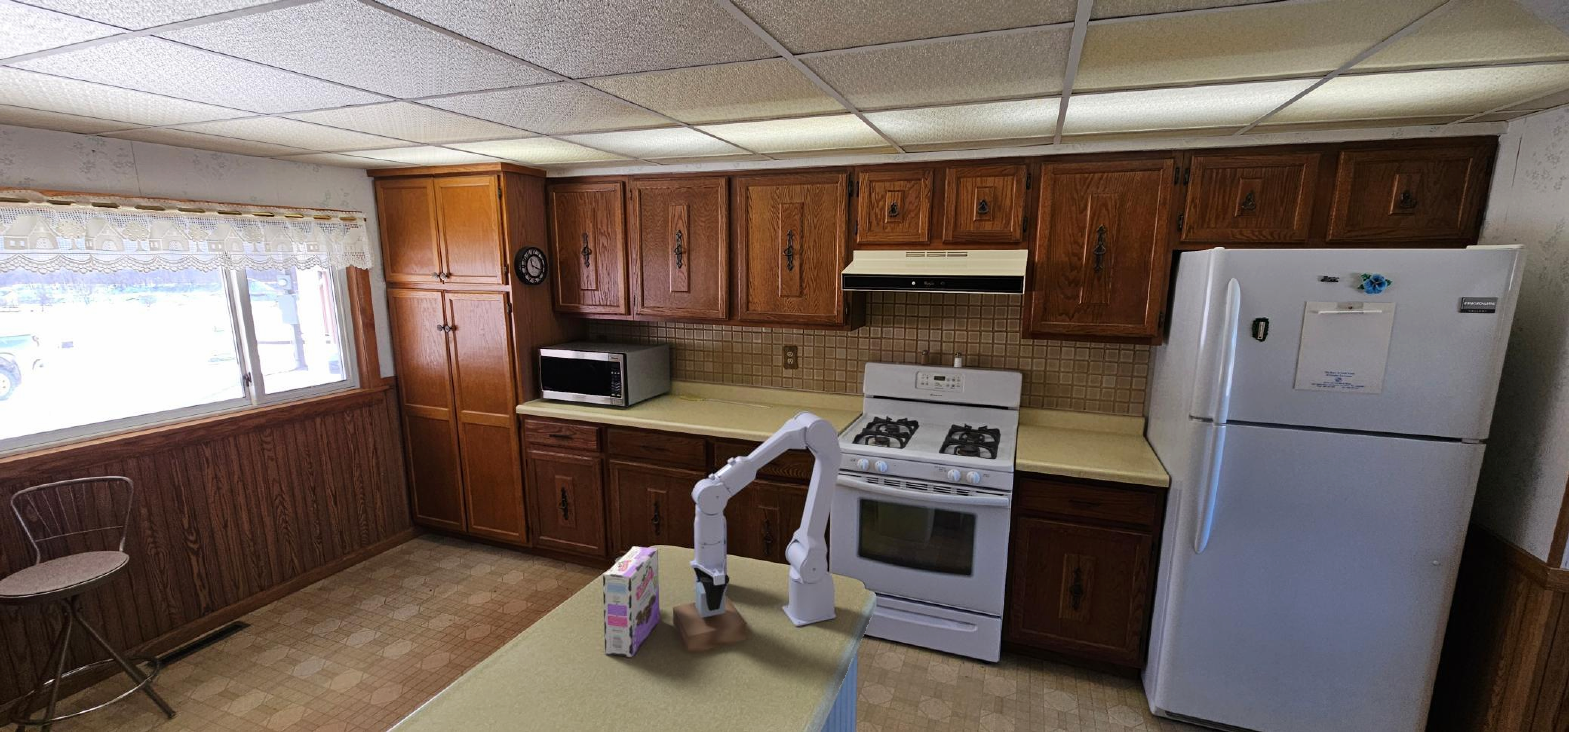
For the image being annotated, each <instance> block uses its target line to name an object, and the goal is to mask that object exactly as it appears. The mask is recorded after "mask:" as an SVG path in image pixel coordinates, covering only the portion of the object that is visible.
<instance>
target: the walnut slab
mask: <svg viewBox="0 0 1569 732" xmlns="http://www.w3.org/2000/svg"><path fill="white" fill-rule="evenodd" d="M672 624H673V625H674V627H675V630H676V631H677V634H678V635H679V638H680V640H681V642H682V643H683V646H684V648H685V650H686V652H687V654H688V655H689V654H693V653H697V652H701V651H706V650H710V649H713V648H718V647H721V646H722V647H723V646H726V645H730V644H734V643H738V642H742V641H746V640H747V622H746V620H745V619H744V618H743V616H742V615H741V613H740V612H739V611H738V609H737V607H735V605H734V604H733V602H732V600H730V597H728V595H725V613H723V614H718V615H713V616H707V617H702V618H701V616H700V614H699V612H698V610H697V608H696V606H695V602H691V603H687V604H681V605H676V606H672Z"/></svg>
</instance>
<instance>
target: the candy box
mask: <svg viewBox="0 0 1569 732" xmlns="http://www.w3.org/2000/svg"><path fill="white" fill-rule="evenodd" d="M658 550H659V549H658V548H654V547H645V546H644V547H643V546H632V547H631V548H630V549H629V550H628V551H627V553H625V554H624V555H623V556H621V557H622V558H621V559H620V560H619V561H618V562H617V563H615V562H614V564H613V565H612V566H611V567H610V568H609V569H608V570H607V571H606V572H603V575H602V585H603V586H602V589H603V596H602V597H603V626H604V631H603V632H604V653H605V654H607V655H613V656H622V657H626V658H627V657H628V658H632V657H633V656H634V655H635V653H636V652H637V651H638V650H639V648H640V647H641V646H642V644H643V643H644V642H645V640H646V639H647V638H648V637H649V635H650V634H651V632H652V631H653V629H654V628H655V627H656V626H657V624H658V623H659V621H660V587H659V582H660V581H659V552H658Z"/></svg>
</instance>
